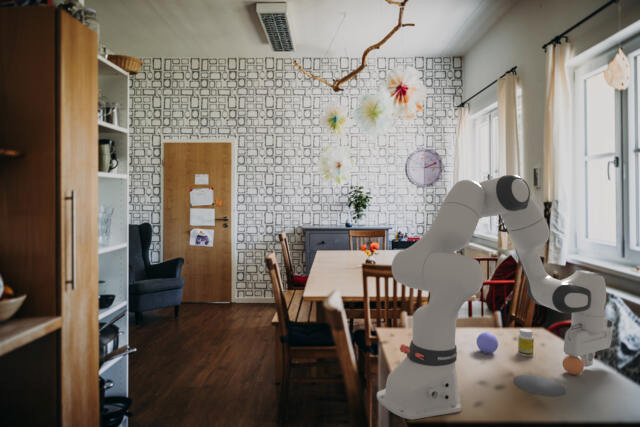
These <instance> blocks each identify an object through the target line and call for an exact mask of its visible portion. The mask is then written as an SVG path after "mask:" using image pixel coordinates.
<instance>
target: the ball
mask: <svg viewBox="0 0 640 427" xmlns="http://www.w3.org/2000/svg"><path fill="white" fill-rule="evenodd" d="M562 366H563V369H564V371H565V372H567V373H568V374H571V375H574V376H575V375H576V376H577V375H579V374H581V373H582V372H583V371H584V367H585V366H584V365H583V362H582V360H581V358H580V357H579V356H578V357H573V356H570V355H566V356H565V357H564V358H563V360H562Z"/></svg>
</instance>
